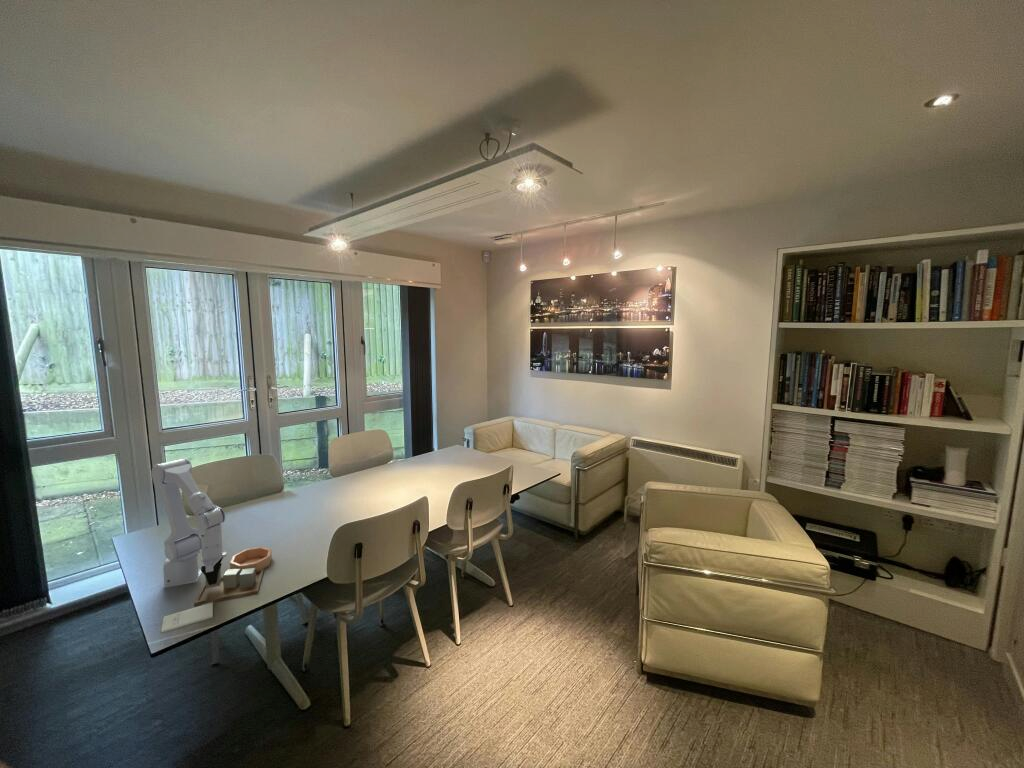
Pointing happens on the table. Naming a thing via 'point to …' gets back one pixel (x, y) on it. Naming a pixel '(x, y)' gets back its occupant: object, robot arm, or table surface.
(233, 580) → the stone
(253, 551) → the bowl
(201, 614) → the external hard drive
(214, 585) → the stone
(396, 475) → the table surface
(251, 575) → the stone
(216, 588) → the tray
